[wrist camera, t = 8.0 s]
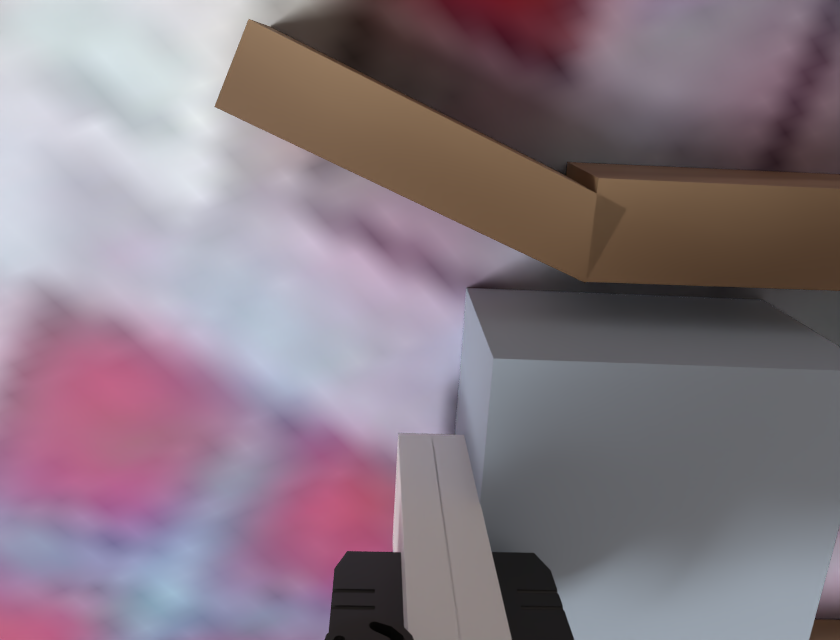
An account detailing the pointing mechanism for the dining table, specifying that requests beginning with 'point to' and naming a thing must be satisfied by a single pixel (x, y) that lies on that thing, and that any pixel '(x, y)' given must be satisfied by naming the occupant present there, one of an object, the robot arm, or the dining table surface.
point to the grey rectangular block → (656, 457)
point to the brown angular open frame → (547, 187)
